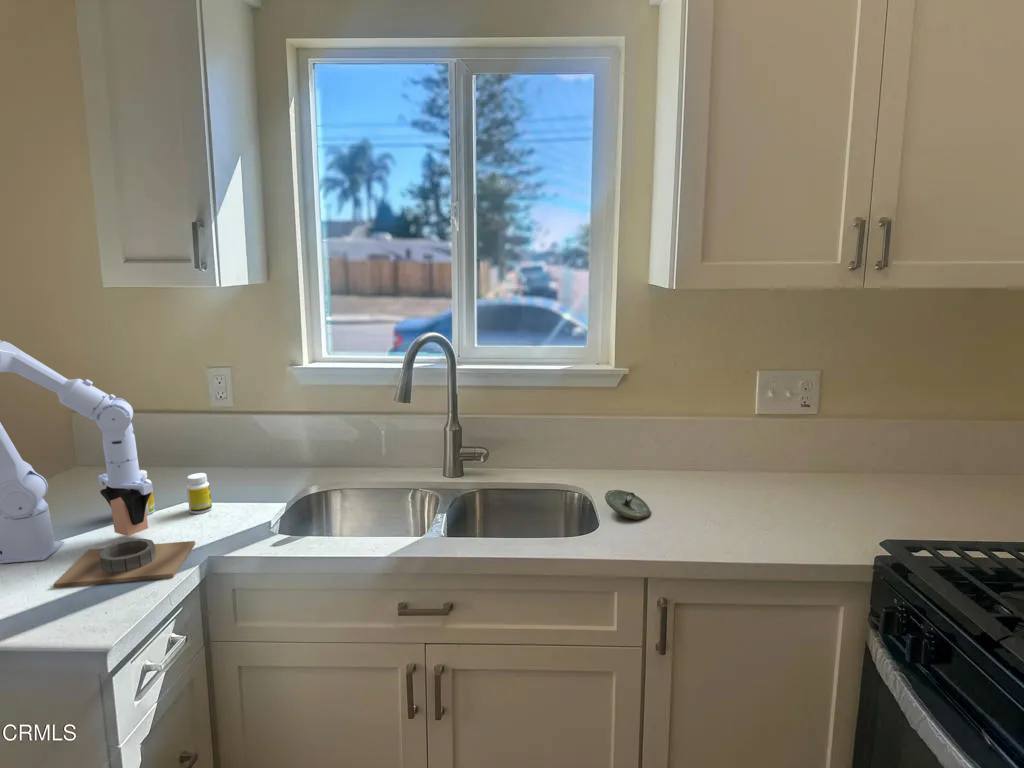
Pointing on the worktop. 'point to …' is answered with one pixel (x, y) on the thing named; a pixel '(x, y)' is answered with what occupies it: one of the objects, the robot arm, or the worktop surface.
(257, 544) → the worktop surface
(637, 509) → the lid
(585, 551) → the worktop surface
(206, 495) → the supplement bottle
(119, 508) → the peg block
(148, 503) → the supplement bottle
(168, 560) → the collar board
